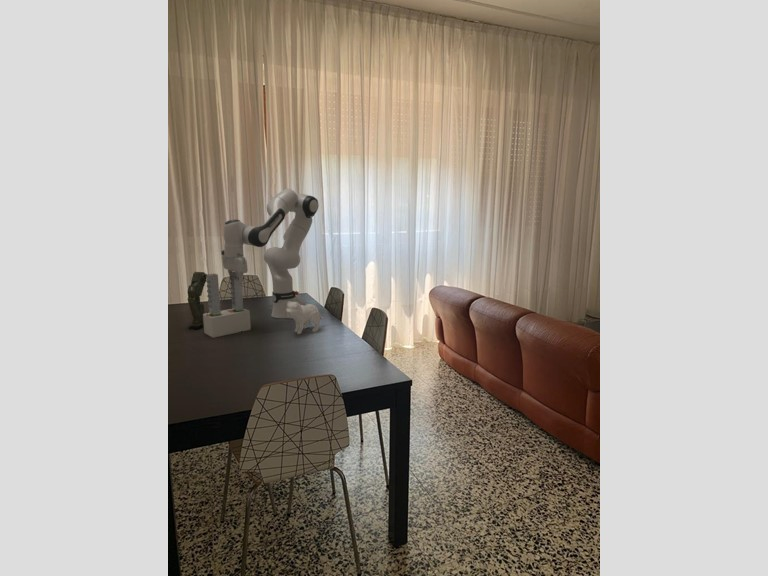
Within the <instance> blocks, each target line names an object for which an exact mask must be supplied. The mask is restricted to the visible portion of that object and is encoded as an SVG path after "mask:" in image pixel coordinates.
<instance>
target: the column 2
mask: <svg viewBox="0 0 768 576" xmlns="http://www.w3.org/2000/svg"><path fill="white" fill-rule="evenodd" d="M238 278H239V275H238V272H234V271H232V272H230V277H229V280H230V283H229V285H230V288H229V289H230V295H231V297H230V299H231V309H232V310H233V312H240V311H243V308H244V301H243V284H242V283H243V281H238Z"/></svg>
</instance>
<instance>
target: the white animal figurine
mask: <svg viewBox="0 0 768 576" xmlns="http://www.w3.org/2000/svg"><path fill="white" fill-rule="evenodd" d="M286 312H287V314H288V315H289V316H292V317H293V318H292V319H293V320H294V321H295V330H294V332H295V333H297V335H301V334H303V329H307V328H309V322H311V323H313V324H314V326H313V327H314V328H312V331H311V332H312V333H315V332H317V331H318V330H319V328H320V327H319V326H320V322H321V319H324V317H323V316H322V315H321V313H320V311H319V309H318V308H317V306H316V305H314V304H311V303H307V304H305V306H304V305H300V304H299V303H297V302H290V301H289V302H288V303H287V309H286Z"/></svg>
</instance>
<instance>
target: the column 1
mask: <svg viewBox="0 0 768 576" xmlns="http://www.w3.org/2000/svg"><path fill="white" fill-rule="evenodd" d="M205 274H206V277H207V278H206V282H205V283H206V288H207V289H206V293H207V295H206V296H207V303H208V304H207V307H208V313H209V315H210V316H211V317H214V316H219V315H221V311H222V310H221V301H220V299H221V297H220V287H219V285H220V283H219V275H218V274H217V273H205Z"/></svg>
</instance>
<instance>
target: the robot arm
mask: <svg viewBox="0 0 768 576" xmlns="http://www.w3.org/2000/svg"><path fill="white" fill-rule="evenodd" d="M319 206H320V205H319V200H318V198H316V197H314V196H312V195H309V194H305V193H296V192H295V191H294V190H293V189H290V188H286V189H283V190H282V191H280V192H278V193H277V194H275V196H274V197H273V198H271V199H269V201H268V203H267V204H266V212H267V214H268V215H269V217H268V219H266V221H265V222H264V223H263V224H262V225H259V226H258V225H257V226H254V225H249V224H246V223H244V222H243V221H241V220H240V219H231V220H227V221H225V223H224V224H223V239H224V249H222V250H221V251H220V252H221V253H220V255H222V257H221V258H222V259H221V260H222V266H223V269H225V270H227V272H228V275H229V278H230V272H238V275H239V278H238V281H242V282H243V277H244V274H247V273H248V270H249V269H248V263H247V262H248V261H247V259H246V257H245V255H244V254H245V253H244V245H249V246H253V247H257V248H262V247H264V246H266V245H267V244H268V242H269V240H270V238H271V237H272V235H273V234H274V232H275V231H276V230H277V229H278V228H279V226H280V225H281V224H282V222H283V221H284V220H285V219H286V215H288V213H290V212H291V213H294V214H295V215H294V218H293V219H292V221H291V222H290V224H289V225H288V227H287V229H286V230H285V232H284V233H283V237H282V238H283V240H284V242H283V245H282V247H279V246H278V247H277V246H275V247H273V246H272V247H269V248H267V249H265V251H264V253H263V260H264V262H265V264H266V265H267V266H268V269H269V272H270V275H271V279H272V291H271V292H272V294H271V295H272V302H273V303H272V310H271V311H272V312H271V315H270V316H271V317H272V318H276V319H293V317H292V316H289V315H288V314H287V312H286V309H287V303H288V302H289V301H290V302H297V303H299V304H300V305H304V306H305V305H306V304H305V301H304V300H301V299H300V298H298V297H297V296H298V295H299V294H300V292H299V291H297V290H294V288H293V283H294V282H293V276H292V275H291V274H290V271H289V269H290V270H291V269H295V268H298V266H299V265H300V263H301V257H300V256H301V255H300V249H301V246H302V244H303V242H304V240H305V238H306V237H307V235H308V234H309V231H310V230H311V229H310V228H311V226H312V224H313V217H314V216H315V215H316V213H317V212H318V209H319Z"/></svg>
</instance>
